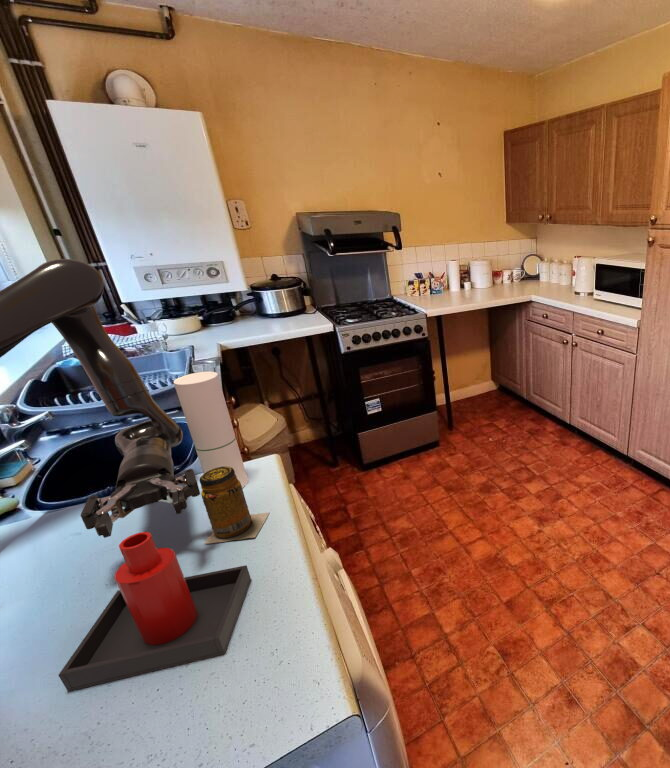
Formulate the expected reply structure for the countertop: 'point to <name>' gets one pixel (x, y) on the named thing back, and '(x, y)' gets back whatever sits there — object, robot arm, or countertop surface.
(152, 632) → the bottle
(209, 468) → the cylindrical container
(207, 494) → the condiment
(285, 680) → the countertop surface
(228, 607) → the baking tray
